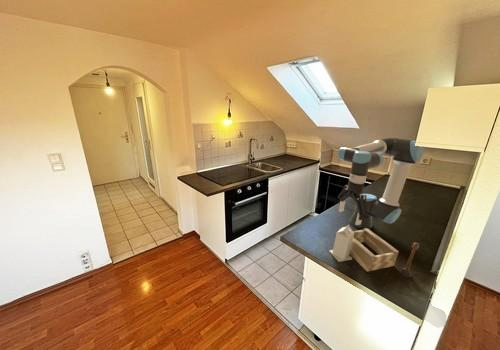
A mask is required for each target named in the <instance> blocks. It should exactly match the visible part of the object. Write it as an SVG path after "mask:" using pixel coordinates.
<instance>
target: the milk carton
mask: <svg viewBox="0 0 500 350" xmlns="http://www.w3.org/2000/svg"><path fill="white" fill-rule="evenodd" d="M353 236H354V232H353V229H352V228H351V226H350V224H348V225H346V226H343V227H341V228H340V229H339V230H338V231H337V232H336V234H335V240H334V243H333V247H332V248H333V249H332V250H333V253H332V254H334V255H335V256H337V257H339V258H341V259H343V260H345V259H346V258H347V257H348V255H349V256H350V254H349V253H350V249H351V245H352V241H353ZM332 254H331V255H332Z"/></svg>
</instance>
